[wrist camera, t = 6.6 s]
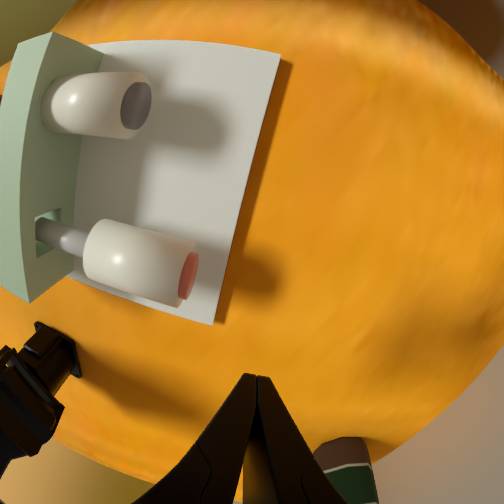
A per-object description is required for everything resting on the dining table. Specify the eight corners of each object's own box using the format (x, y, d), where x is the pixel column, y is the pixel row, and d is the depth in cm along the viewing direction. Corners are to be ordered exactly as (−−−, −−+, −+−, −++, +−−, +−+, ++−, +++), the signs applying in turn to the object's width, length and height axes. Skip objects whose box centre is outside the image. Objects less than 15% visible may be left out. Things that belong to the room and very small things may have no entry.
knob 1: (27, 131, 15) (-7, 133, 11) (37, 85, 13) (4, 81, 9) (146, 141, 15) (113, 139, 11) (162, 80, 13) (133, 63, 10)
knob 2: (56, 245, 18) (25, 263, 14) (57, 197, 16) (21, 209, 13) (195, 289, 18) (178, 323, 14) (205, 235, 17) (187, 258, 13)
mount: (214, 320, 21) (194, 383, 15) (44, 261, 21) (-3, 292, 14) (280, 58, 14) (286, 8, 8) (70, 50, 14) (16, 34, 7)
